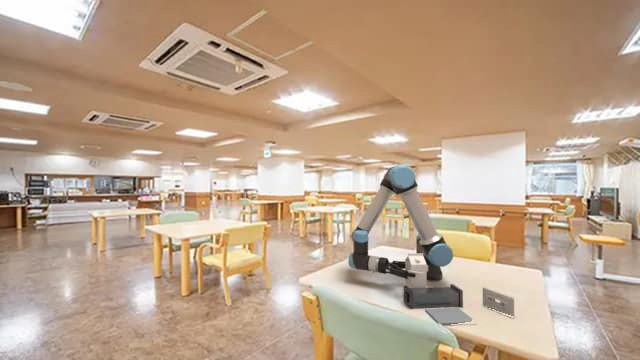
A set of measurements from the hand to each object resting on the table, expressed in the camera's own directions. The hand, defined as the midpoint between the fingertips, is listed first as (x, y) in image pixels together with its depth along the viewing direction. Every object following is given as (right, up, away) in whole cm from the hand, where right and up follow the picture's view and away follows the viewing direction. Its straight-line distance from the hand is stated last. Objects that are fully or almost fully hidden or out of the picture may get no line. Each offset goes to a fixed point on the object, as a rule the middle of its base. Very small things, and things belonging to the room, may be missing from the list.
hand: (426, 272), depth 121 cm
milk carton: (-4, -11, +2) cm, 12 cm away
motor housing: (0, -11, -8) cm, 14 cm away
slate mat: (+2, -11, -19) cm, 22 cm away
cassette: (+23, -11, -14) cm, 29 cm away
